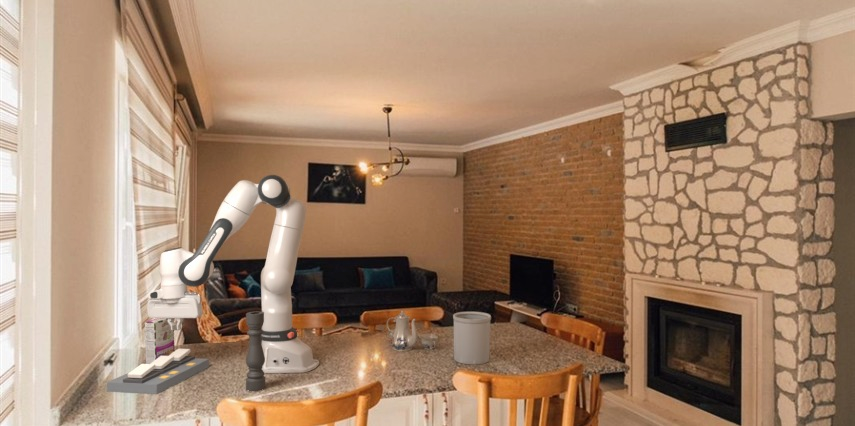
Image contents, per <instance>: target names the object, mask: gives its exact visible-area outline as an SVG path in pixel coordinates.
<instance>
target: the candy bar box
mask: <svg viewBox="0 0 855 426" xmlns="http://www.w3.org/2000/svg"><path fill="white" fill-rule="evenodd" d="M173 321H174V322H175V320H173ZM144 340H145V341H144V344H145V345H144V346H145V349H144V350H145V364H150V363H152V362H153V361H154V360H156V359H157V358H159V357H160V356H169V355H170V354H172V353H173V352H174V351H176V349H175V330H171V326H170V324H169V323H168V319H167V318H153V319H150V320H148V321H144Z"/></svg>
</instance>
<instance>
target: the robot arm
mask: <svg viewBox="0 0 855 426" xmlns="http://www.w3.org/2000/svg"><path fill="white" fill-rule="evenodd" d="M260 204H267V205H270V206H271V207H274V208H275V211H276V214H275V218H274V222H273V227H272V231H271V236H270V239H269V244H268V250H267V254H266V260H265V263H264V267H263V268H262V270H261V272H260V289H261V290H260V291H261V292H260V294H261V295H260V296H261V297H260V298H261V301H260V302H261V312H264V323H263V326H262V328H261V329H262V330H263V333H262V335H261V344H262V348H263V352H264V356H265V363H264V365H263V366H262V370H263V372H264V374H283V373H285V374H290V373H292V374H293V373H294V374H295V373H307V372H311V371H313V370H314V369H316V368H317V367H318V366H319V365H320V361H319V359H315V358H314V356H313V350H312V348H311V347H310V346H309V345H308V344H306V343H305V342H303V340H301V339H300V338H299V337H298V333H299V328H298V329H295V328H294V327H293V304H292V303H293V302H292V289H291V287H292V285H293V282H294V278H295V273H296V268H297V261H298V257H299V256H298V255H299V250H300V246H301V241H302V237H303V233H304V227H305V224H306V216H307V215H306V212H307V211H306V210H307V207H306V205H305V203H304V202H303V201H302V200H301V199H298V198H294V197H292V196H291V189H290V185H289V184H288V182H287V181H286V180H285V179H284V178H283V177H281V176H279V175H277V174H269V175H266V176H264V177H262V179H260V180H259V183H255V182H254V181H250V180H248V179H241V180H239V181H238V182H237V183H236V184H235V185H234V186H233V187H232V188H231V189H230V191H228V193H227V194H226V196H225V198H224V199H223V201H221V204H220V206H219V208H218V210H217V212H216V214H215V217H214V220H213V222H212V224H211V226H210V229H209V231H208V233H207V234H206V236H205V237H204V239H203V240H202V242H201V244H200V245H199V247H198V248H197V250H196V251H195V252H191V251H189V250H186V249H185V247H180V246H179V247H178V246H177V247H173V248H169V249H166V250H164V251H163V252H161V254H160V257H159V275H160V278H161V281H160V288H157V289H155V290H153V291H150V292H148V294H147V298H148V301H147V305H146V307H147V309H146V310H147V316H148V318H149V319H157V318H167V319H168V323H169V324H170V326H171V330H174V331H180V330H182V323H183V322H184V320H185V319H198V318H201V317H202V316H203V314H204V310H203V304H202V296H201V294H199V293H198V292H196V291H193V292H191V291H188V287H193V288H195V287H199V286H200V287H201V286H202V285H203V284H205V283H206V281H208V279H209V278H210V277H211V276H212V274H213V273H214V270H215V265H214V262H213V260H214V259H215V258H216V256H217V254H218V252H219V251H220V250H221V248H222V246H223V245H224V243H226V241H227V240H228V239H229V238H230V237H232V236H233V235H234V234H235V233H237V232H238V231H239V230H241V228H243V226H244V225H245V224H246V222H248V220H249V219H250V217H251V216H252V214H253V212H254V211H255V209H256V207H257V206H258V205H260ZM175 319H176V322H177V323H175ZM173 320H174V321H173Z"/></svg>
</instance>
